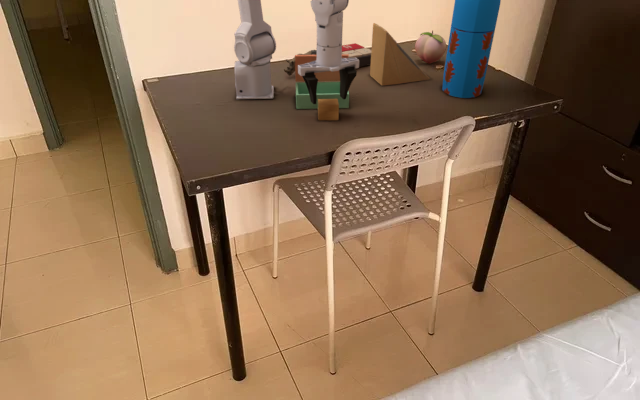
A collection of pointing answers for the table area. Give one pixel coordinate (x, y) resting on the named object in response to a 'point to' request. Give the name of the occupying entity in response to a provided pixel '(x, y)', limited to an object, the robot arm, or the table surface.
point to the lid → (320, 76)
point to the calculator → (358, 53)
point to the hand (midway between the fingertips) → (328, 100)
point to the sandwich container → (391, 61)
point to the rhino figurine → (293, 64)
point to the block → (328, 109)
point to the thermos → (469, 47)
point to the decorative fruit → (430, 47)
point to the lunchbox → (319, 95)
